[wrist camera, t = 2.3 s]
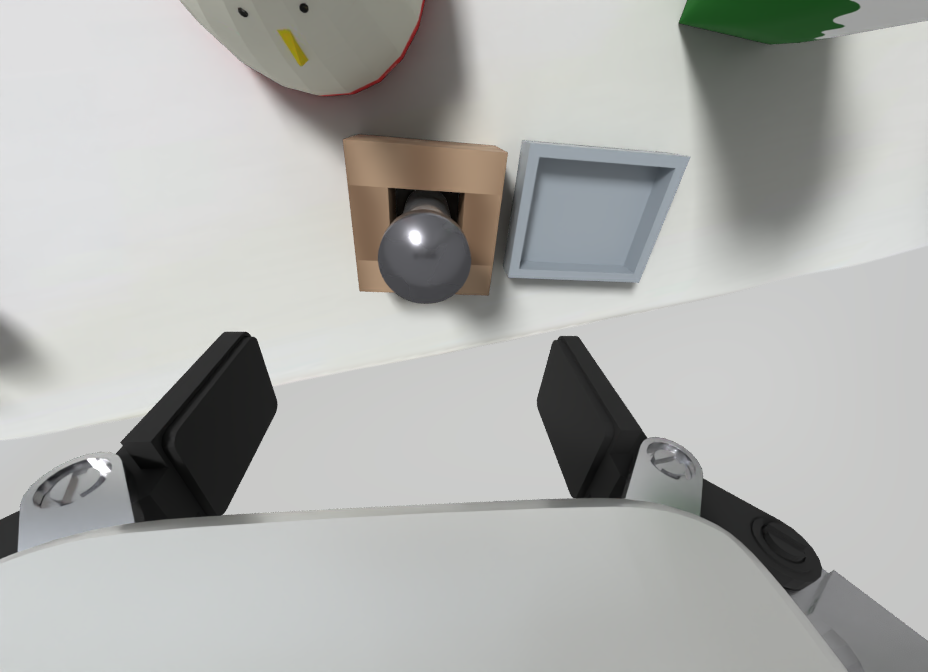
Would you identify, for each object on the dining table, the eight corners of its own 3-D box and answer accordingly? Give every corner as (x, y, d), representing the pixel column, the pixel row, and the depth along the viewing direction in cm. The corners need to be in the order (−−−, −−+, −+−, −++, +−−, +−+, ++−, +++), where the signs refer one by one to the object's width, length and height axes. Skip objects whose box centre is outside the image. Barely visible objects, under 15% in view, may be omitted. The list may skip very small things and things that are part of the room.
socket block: (495, 145, 25) (507, 152, 21) (480, 270, 30) (488, 295, 26) (358, 134, 24) (342, 139, 19) (369, 265, 29) (359, 291, 25)
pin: (459, 179, 26) (475, 218, 17) (455, 242, 29) (467, 304, 19) (394, 174, 25) (374, 212, 16) (397, 239, 28) (380, 302, 19)
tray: (669, 153, 26) (690, 156, 24) (625, 271, 32) (639, 282, 30) (522, 140, 25) (530, 143, 23) (503, 266, 30) (508, 277, 28)
